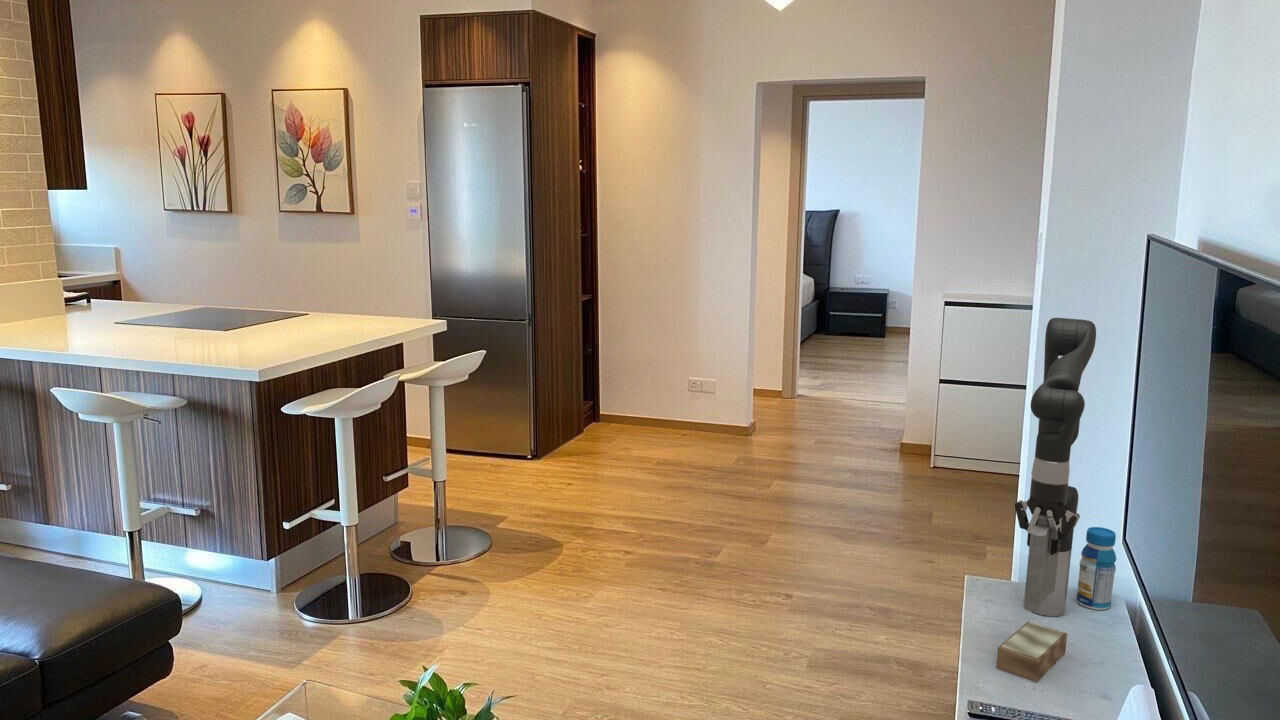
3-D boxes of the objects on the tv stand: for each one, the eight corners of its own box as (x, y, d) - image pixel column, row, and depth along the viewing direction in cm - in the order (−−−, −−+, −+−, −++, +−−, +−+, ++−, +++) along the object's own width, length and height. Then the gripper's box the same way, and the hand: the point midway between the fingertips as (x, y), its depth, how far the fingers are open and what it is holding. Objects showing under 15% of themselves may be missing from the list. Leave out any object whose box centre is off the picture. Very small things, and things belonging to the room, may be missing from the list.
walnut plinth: (1026, 640, 228) (1028, 620, 227) (1065, 653, 222) (1067, 632, 222) (996, 668, 215) (998, 646, 214) (1036, 682, 209) (1039, 660, 208)
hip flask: (1036, 612, 209) (1045, 525, 205) (1017, 607, 211) (1025, 521, 207) (1056, 588, 221) (1064, 506, 217) (1037, 584, 224) (1046, 502, 220)
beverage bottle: (1109, 614, 244) (1117, 539, 240) (1073, 605, 248) (1081, 532, 244) (1113, 602, 251) (1121, 529, 247) (1078, 594, 255) (1086, 522, 251)
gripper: (1089, 481, 209) (1081, 555, 212) (1024, 467, 218) (1017, 538, 221) (1078, 489, 203) (1069, 565, 207) (1011, 474, 213) (1004, 547, 216)
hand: (1042, 550), depth 214 cm, fingers closed on hip flask, 4 cm apart
